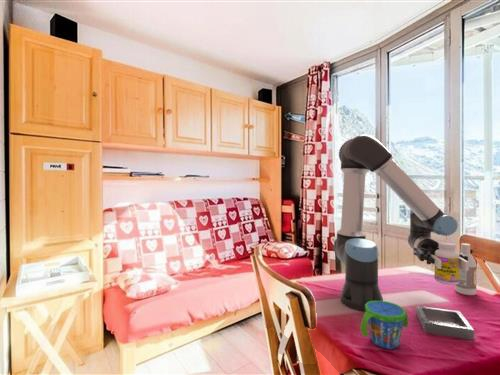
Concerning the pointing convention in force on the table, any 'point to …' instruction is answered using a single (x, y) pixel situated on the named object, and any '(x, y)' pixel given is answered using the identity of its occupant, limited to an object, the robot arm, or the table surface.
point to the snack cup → (384, 323)
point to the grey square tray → (444, 322)
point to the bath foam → (467, 274)
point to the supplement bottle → (447, 264)
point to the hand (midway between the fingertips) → (453, 265)
